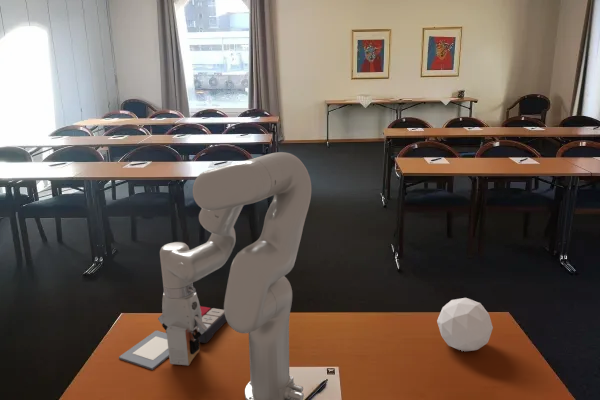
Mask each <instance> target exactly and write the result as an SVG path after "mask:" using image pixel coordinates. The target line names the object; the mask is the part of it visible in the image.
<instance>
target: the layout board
mask: <svg viewBox="0 0 600 400" xmlns="http://www.w3.org/2000/svg"><path fill="white" fill-rule="evenodd" d="M168 358H169V350H168V341H167V334H166V332H163V331H160V330H154V331H153V332H152V333H151V334H149V335H147V336H145V338H144V339H142V340H141V341H139V342H138V343H136V344H134V346H132V347H130V348H129V349H128V350H127V351H125V352H124V353H122V354H121V355H119V357H118V359H119V360H120V361H125V362H126V363H130V364H132V365H135V366H140V367H142V368H146V369H147V370H151V371H153V370H155V369H156V368H158V366H160V365H161V364H162V363H164V362H165V360H167V359H168Z"/></svg>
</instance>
